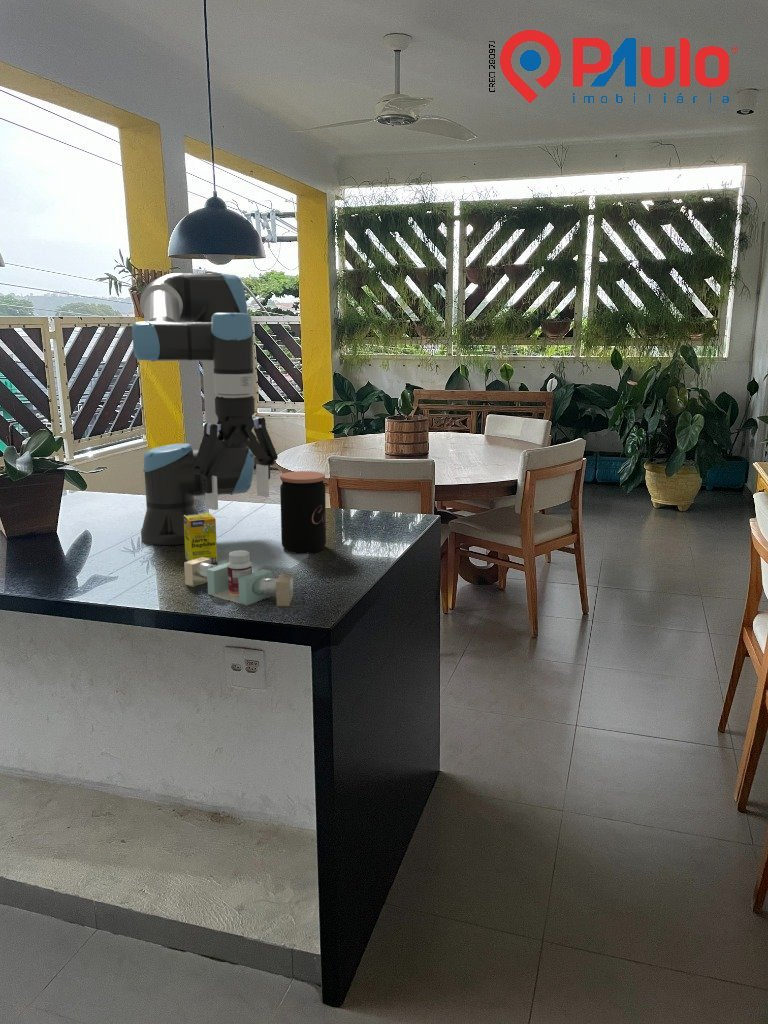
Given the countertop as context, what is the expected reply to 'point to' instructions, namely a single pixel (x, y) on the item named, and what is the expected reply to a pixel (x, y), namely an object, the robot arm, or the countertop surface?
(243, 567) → the pill bottle
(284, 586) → the shaft
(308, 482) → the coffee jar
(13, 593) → the countertop surface
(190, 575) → the shaft
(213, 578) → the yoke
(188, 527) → the supplement box
